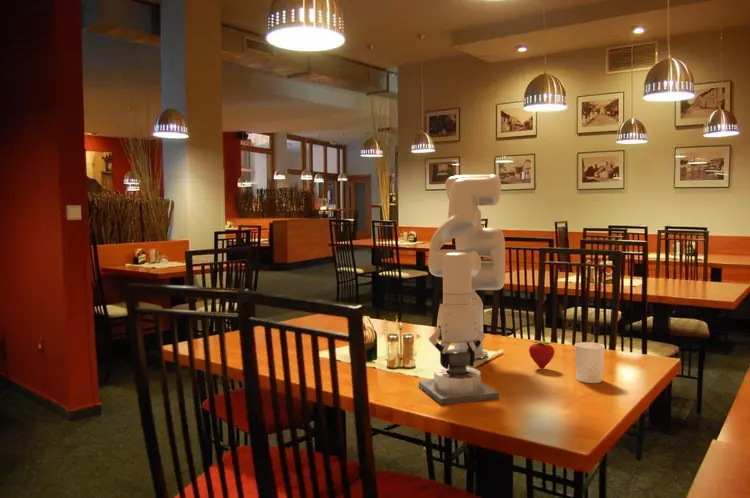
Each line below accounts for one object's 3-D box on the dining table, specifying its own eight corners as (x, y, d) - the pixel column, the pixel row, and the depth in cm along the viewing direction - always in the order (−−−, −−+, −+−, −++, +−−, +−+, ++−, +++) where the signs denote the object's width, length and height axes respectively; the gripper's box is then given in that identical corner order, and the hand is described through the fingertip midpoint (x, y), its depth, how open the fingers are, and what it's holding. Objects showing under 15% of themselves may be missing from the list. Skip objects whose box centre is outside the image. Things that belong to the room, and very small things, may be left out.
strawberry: (529, 365, 185) (529, 333, 185) (554, 366, 183) (555, 334, 182) (527, 369, 180) (528, 337, 179) (553, 371, 177) (554, 338, 176)
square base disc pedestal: (418, 386, 164) (418, 367, 163) (472, 381, 168) (471, 362, 168) (441, 404, 148) (441, 383, 148) (499, 398, 153) (499, 377, 153)
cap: (440, 375, 160) (440, 350, 160) (463, 373, 162) (463, 348, 162) (450, 382, 154) (450, 356, 153) (474, 380, 156) (474, 354, 155)
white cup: (569, 380, 168) (570, 345, 168) (581, 374, 174) (582, 340, 173) (597, 385, 163) (597, 349, 162) (608, 379, 169) (609, 344, 168)
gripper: (480, 295, 163) (480, 360, 164) (421, 299, 158) (421, 365, 159) (493, 299, 156) (493, 367, 157) (431, 303, 151) (432, 372, 152)
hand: (457, 365), depth 158 cm, fingers closed on cap, 6 cm apart
